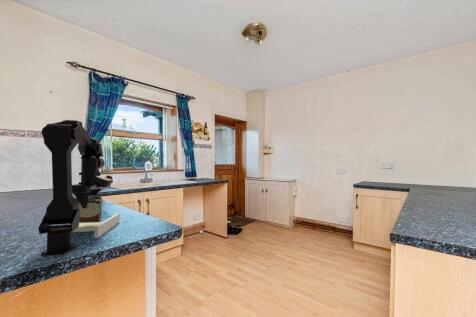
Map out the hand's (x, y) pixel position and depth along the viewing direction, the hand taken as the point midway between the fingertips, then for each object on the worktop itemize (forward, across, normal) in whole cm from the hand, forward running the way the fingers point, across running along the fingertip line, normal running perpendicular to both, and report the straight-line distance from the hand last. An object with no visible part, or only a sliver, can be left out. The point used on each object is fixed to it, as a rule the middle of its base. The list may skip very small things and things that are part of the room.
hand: (88, 206), depth 89 cm
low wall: (+9, -4, -10) cm, 13 cm away
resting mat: (+9, 0, 0) cm, 9 cm away
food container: (+6, +2, 0) cm, 6 cm away
